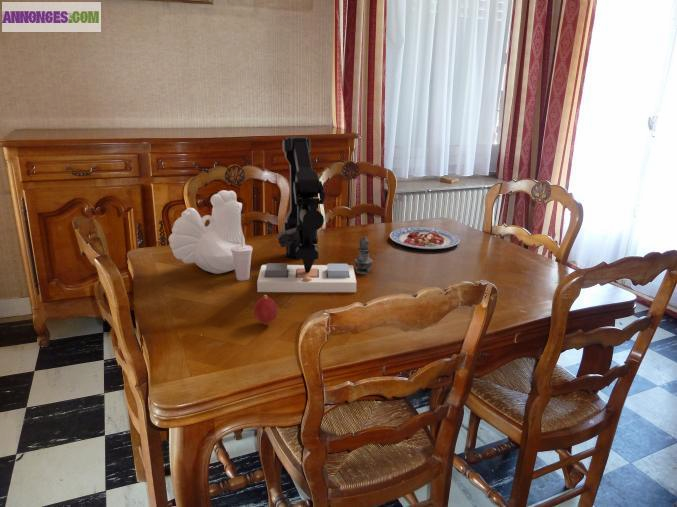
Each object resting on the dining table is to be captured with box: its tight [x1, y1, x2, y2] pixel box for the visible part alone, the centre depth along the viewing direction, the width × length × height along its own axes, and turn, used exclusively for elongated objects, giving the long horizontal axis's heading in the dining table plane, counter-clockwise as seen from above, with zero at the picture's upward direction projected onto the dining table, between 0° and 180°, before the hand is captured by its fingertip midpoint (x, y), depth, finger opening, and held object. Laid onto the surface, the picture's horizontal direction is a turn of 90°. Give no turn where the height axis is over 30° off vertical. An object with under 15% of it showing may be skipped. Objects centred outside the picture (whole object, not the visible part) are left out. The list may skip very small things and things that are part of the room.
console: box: [256, 264, 357, 293], centre depth 155 cm, size 28×14×4 cm, turn 93°
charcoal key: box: [265, 262, 288, 278], centre depth 154 cm, size 6×6×3 cm
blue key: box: [326, 263, 349, 278], centre depth 154 cm, size 6×6×3 cm
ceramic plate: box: [389, 226, 460, 250], centre depth 195 cm, size 26×26×3 cm
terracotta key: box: [297, 268, 318, 278], centre depth 154 cm, size 6×6×3 cm
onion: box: [253, 294, 279, 326], centre depth 128 cm, size 6×6×8 cm
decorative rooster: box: [168, 189, 246, 275], centre depth 159 cm, size 25×16×25 cm, turn 125°
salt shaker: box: [354, 234, 374, 275], centre depth 163 cm, size 6×6×12 cm
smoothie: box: [231, 232, 254, 282], centre depth 155 cm, size 6×6×14 cm
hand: (307, 272), depth 154 cm, fingers closed, pressing on terracotta key
